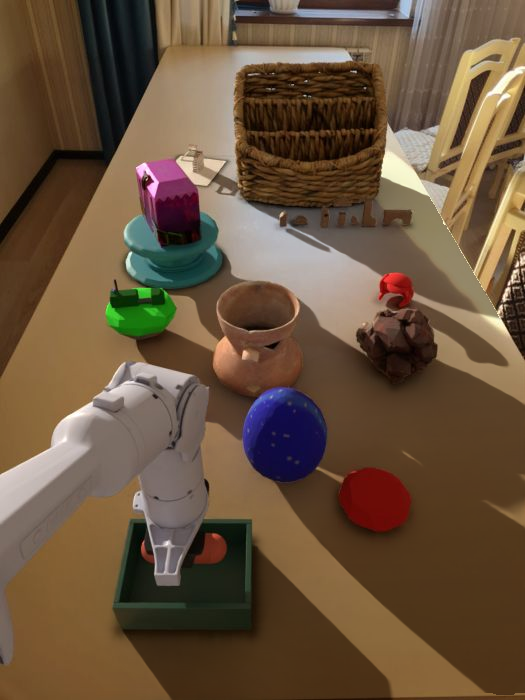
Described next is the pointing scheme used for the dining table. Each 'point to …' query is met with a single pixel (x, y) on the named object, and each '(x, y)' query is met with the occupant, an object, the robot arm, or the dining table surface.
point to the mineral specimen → (398, 342)
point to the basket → (309, 132)
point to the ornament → (284, 435)
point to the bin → (188, 584)
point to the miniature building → (139, 311)
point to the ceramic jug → (257, 338)
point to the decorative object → (170, 230)
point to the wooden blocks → (366, 216)
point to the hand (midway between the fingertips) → (184, 548)
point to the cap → (397, 286)
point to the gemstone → (375, 499)
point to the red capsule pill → (211, 551)
